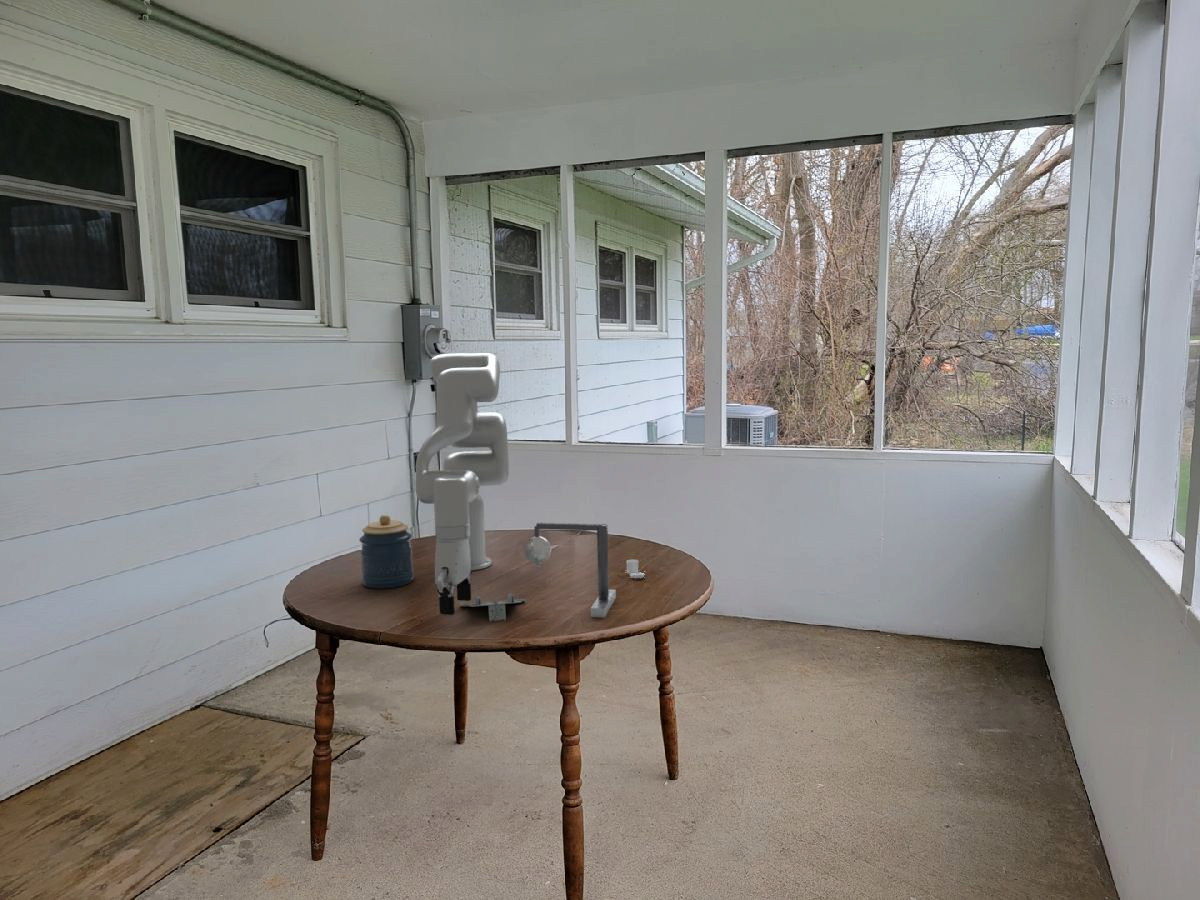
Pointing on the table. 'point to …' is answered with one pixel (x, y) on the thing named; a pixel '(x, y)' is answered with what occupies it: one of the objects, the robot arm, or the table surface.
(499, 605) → the metal bracket
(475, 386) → the robot arm
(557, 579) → the table surface
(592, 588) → the table surface
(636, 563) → the white ring with cylinder
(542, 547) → the metal desk lamp
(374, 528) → the canister
